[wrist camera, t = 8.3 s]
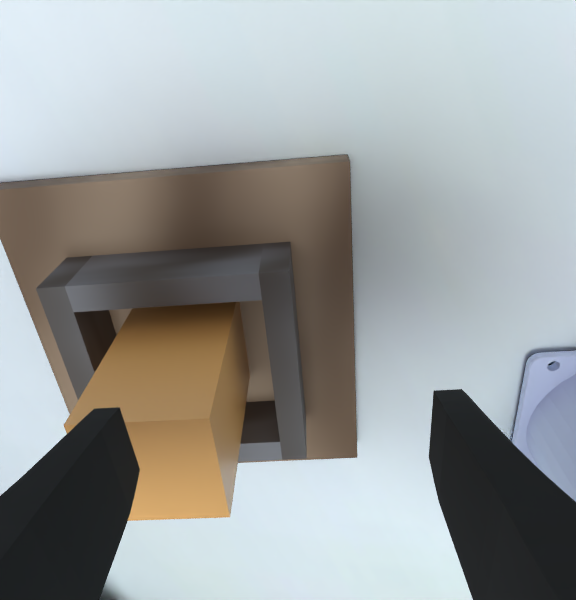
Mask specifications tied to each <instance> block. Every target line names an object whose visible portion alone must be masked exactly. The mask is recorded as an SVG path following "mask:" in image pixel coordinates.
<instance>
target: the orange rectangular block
mask: <svg viewBox="0 0 576 600" xmlns="http://www.w3.org/2000/svg"><path fill="white" fill-rule="evenodd" d="M249 379H250V371H249V364H248V357H247V350H246V344H245V337H244V330H243V323H242V316H241V310H240V303H239V302H225V303H210V304H194V305H179V306H163V307H148V308H133V309H132V310H131V312H130V314H129V315H128V317H127V319H126V320H125V322H124V324H123V325H122V327H121V329H120V331H119V332H118V334H117V336H116V337H115V339H114V341H113V342H112V344H111V346H110V348H109V349H108V351H107V353H106V354H105V356H104V358H103V359H102V361H101V363H100V365H99V366H98V368H97V370H96V371H95V373H94V375H93V376H92V378H91V380H90V382H89V383H88V385H87V387H86V388H85V390H84V392H83V393H82V395H81V397H80V398H79V400H78V402H77V404H76V405H75V407H74V409H73V410H72V412H71V414H70V415H69V417H68V419H67V421H66V422H65V424H64V427H65V430H66V432H67V434H68V433H69V432H70V431H71V430H72V429H73V428H74V427H75V426H76V425H77V424H78V423H79V422H80V421H81V420H82V419H83V418H84V417H85V416H87V415H88V414H89V413H90V412H91V411H92V410H93V409H96V408H115V407H120V410H121V413H122V416H123V419H124V422H125V425H126V428H127V431H128V434H129V437H130V440H131V443H132V446H133V449H134V452H135V456H136V459H137V462H138V465H139V468H140V472H139V477H138V482H137V486H136V491H135V496H134V500H133V504H132V508H131V512H130V515H129V518H128V521H131V520H160V519H189V518H218V517H230V513H231V506H232V499H233V492H234V485H235V478H236V471H237V464H238V457H239V450H240V443H241V436H242V429H243V422H244V415H245V407H246V400H247V393H248V386H249Z"/></svg>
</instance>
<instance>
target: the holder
mask: <svg viewBox="0 0 576 600" xmlns="http://www.w3.org/2000/svg"><path fill="white" fill-rule="evenodd" d="M0 239H1V242H2V244H3V247H4V249H5V252H6V254H7V257H8V259H9V262H10V264H11V267H12V269H13V272H14V275H15V277H16V280H17V282H18V285H19V287H20V290H21V292H22V295H23V297H24V300H25V302H26V305H27V307H28V310H29V312H30V315H31V317H32V320H33V323H34V325H35V328H36V330H37V333H38V335H39V338H40V340H41V343H42V345H43V348H44V350H45V353H46V355H47V358H48V360H49V363H50V365H51V368H52V370H53V373H54V376H55V378H56V381H57V383H58V386H59V388H60V391H61V393H62V396H63V398H64V401H65V403H66V406H67V408H68V411H69V413H70V414H71V412H72V410H73V409H74V407H75V405H76V404H77V402H78V400H79V398H80V397H81V395H82V393H83V392H84V390H85V388H86V387H87V385H88V383H89V382H90V380H91V378H92V376H93V375H94V373H95V371H96V370H97V368H98V366H99V365H100V363H101V361H102V359H103V358H104V356H105V354H106V353H107V351H108V349H109V348H110V346H111V344H112V342H113V341H114V339H115V337H116V336H117V334H118V332H119V331H120V329H121V327H122V325H123V324H124V322H125V320H126V319H127V317H128V315H129V314H130V312H131V310H132V309H133V308H148V307H163V306H179V305H194V304H210V303H225V302H239V303H240V310H241V316H242V323H243V330H244V337H245V344H246V350H247V357H248V364H249V371H250V379H249V386H248V393H247V400H246V407H245V415H244V422H243V429H242V436H241V443H240V450H239V457H238V463H244V462H266V461H288V460H311V459H333V458H355V457H357V432H356V390H355V348H354V306H353V264H352V223H351V181H350V160H349V157H348V155H336V156H323V157H311V158H299V159H287V160H274V161H262V162H250V163H238V164H225V165H213V166H201V167H189V168H176V169H164V170H152V171H140V172H127V173H115V174H103V175H90V176H78V177H66V178H54V179H41V180H29V181H17V182H5V183H0Z"/></svg>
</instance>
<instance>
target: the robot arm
mask: <svg viewBox="0 0 576 600" xmlns="http://www.w3.org/2000/svg"><path fill="white" fill-rule="evenodd" d="M553 361H555V363H554V364H552V365H549V366H548V364H549V363H551V362H553ZM429 460H430V464H431V469H432V473H433V478H434V483H435V487H436V491H437V495H438V500H439V503H440V506H441V509H442V512H443V515H444V518H445V521H446V523H447V526H448V529H449V532H450V535H451V538H452V541H453V544H454V547H455V549H456V552H457V555H458V558H459V561H460V564H461V567H462V569H463V572H464V575H465V578H466V581H467V584H468V587H469V590H470V592H471V595H472V598H473V600H576V351H560V352H542V353H536V354H534V355H532V356H530V358H529V359H528V360H527V362H526V368H525V373H524V378H523V384H522V389H521V395H520V400H519V405H518V411H517V416H516V422H515V427H514V432H513V438H512V442H511V441H510V440H509V439H508V438H507V437H506V436H505V435H504V434H503V433H502V432H501V431H500V430H499V428H498V427H497V426H496V425H495V424H494V423H493V422H492V421H491V420H490V419H489V418H488V417H487V416H486V415H485V414H484V412H483V411H482V410H481V409H480V408H479V407H478V406H477V405H476V404H475V403H474V401H473V400H472V399H471V398H470V397H469V396H468V395H467V394H466V393H465V392H464V391H463V390H462V389H459V390H439V391H434V395H433V408H432V422H431V435H430V448H429ZM139 472H140V468H139V465H138V462H137V459H136V456H135V452H134V449H133V446H132V443H131V440H130V437H129V434H128V431H127V428H126V425H125V422H124V419H123V416H122V413H121V410H120V407H115V408H96V409H93V410H92V411H91V412H90V413H89V414H88V415H87V416H85V417H84V418H83V419H82V420H81V421H80V422H79V423H78V424H77V425H76V426H75V427H74V428H73V429H72V430H71V431H70V432H69V433H68V434H67V435H66V436H65V437H64V438H62V439H61V440H60V441H59V442H58V443H57V444H56V445H55V446H54V447H53V448H52V449H51V450H50V451H49V452H48V453H47V454H46V455H45V456H44V457H43V458H42V459H40V460H39V461H38V462H37V463H36V464H35V465H34V466H33V467H32V468H31V469H30V470H29V471H28V472H27V473H26V474H25V475H24V476H22V477H21V478H20V479H19V480H18V481H17V482H16V483H15V484H13V485H12V486H11V487H10V488H9V489H8V490H7V491H5V492H4V493H3V494H2V495H1V496H0V600H99V598H100V595H101V593H102V590H103V587H104V584H105V582H106V579H107V576H108V573H109V571H110V568H111V565H112V562H113V560H114V557H115V554H116V552H117V549H118V546H119V543H120V540H121V538H122V535H123V532H124V529H125V526H126V524H127V521H128V518H129V515H130V512H131V508H132V504H133V500H134V496H135V491H136V486H137V482H138V477H139Z"/></svg>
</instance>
